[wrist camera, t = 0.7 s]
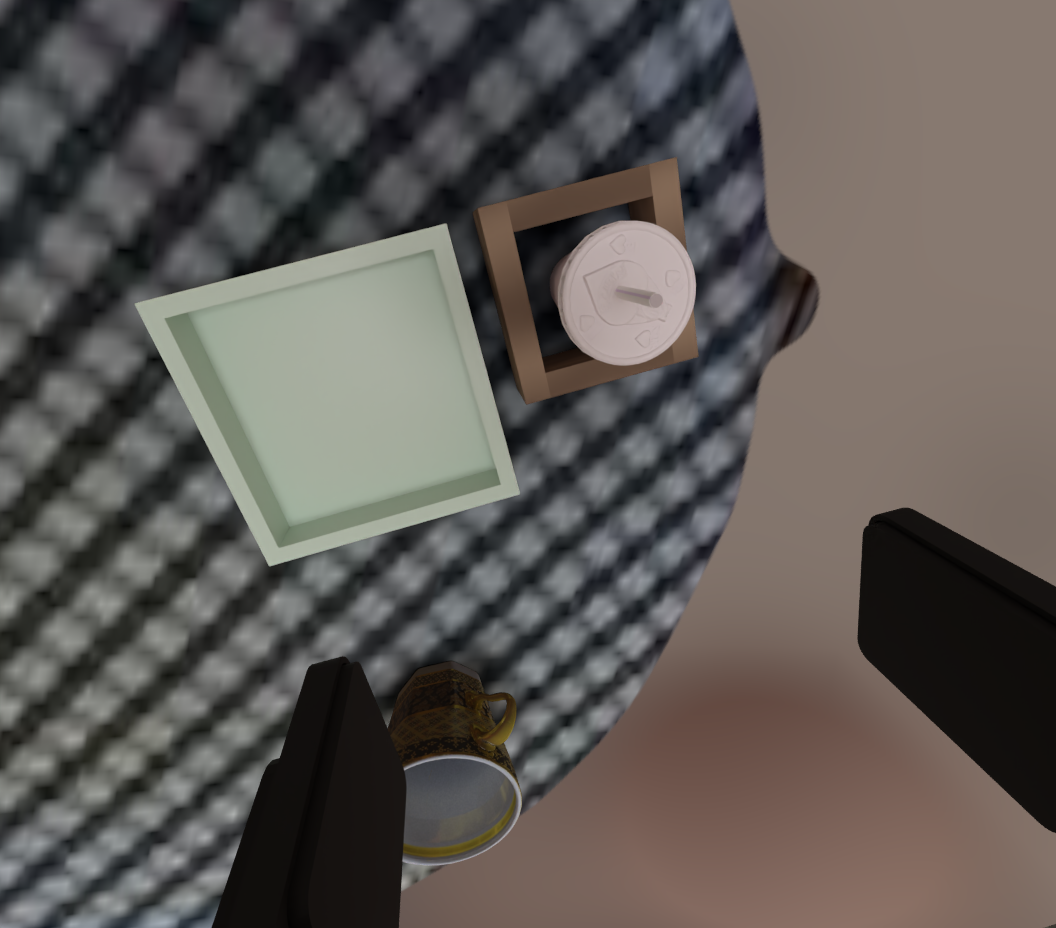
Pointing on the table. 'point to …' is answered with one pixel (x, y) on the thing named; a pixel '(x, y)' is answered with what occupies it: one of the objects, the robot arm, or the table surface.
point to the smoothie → (625, 292)
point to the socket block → (535, 376)
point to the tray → (340, 392)
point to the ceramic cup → (453, 765)
